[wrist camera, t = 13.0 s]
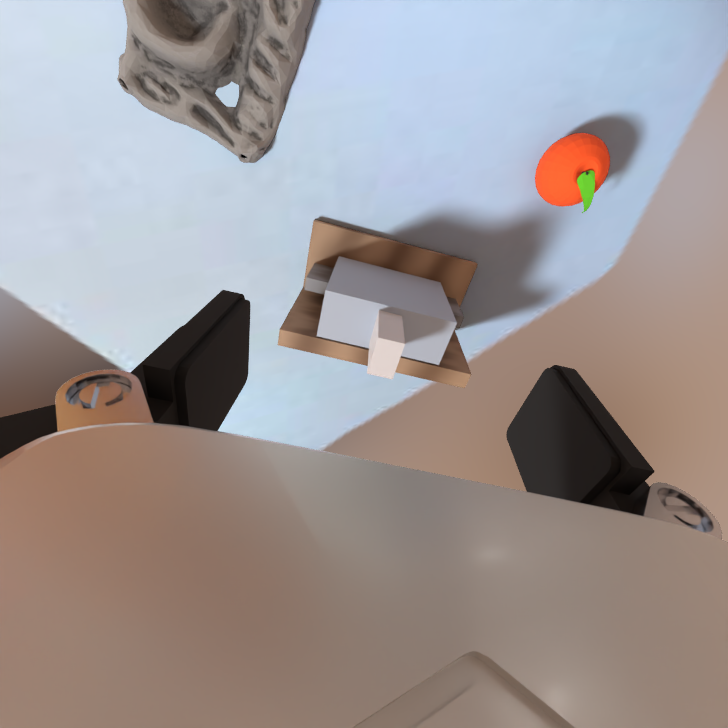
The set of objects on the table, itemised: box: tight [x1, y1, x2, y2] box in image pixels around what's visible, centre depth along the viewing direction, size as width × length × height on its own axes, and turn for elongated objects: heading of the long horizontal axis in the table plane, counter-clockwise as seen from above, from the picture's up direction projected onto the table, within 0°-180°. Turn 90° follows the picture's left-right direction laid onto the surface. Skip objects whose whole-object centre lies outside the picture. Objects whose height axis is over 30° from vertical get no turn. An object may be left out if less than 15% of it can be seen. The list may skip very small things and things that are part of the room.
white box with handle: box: [317, 256, 457, 379], centre depth 40 cm, size 14×5×18 cm, turn 76°
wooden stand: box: [278, 220, 478, 388], centre depth 43 cm, size 22×11×14 cm, turn 76°
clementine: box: [535, 133, 610, 213], centre depth 38 cm, size 8×7×7 cm
